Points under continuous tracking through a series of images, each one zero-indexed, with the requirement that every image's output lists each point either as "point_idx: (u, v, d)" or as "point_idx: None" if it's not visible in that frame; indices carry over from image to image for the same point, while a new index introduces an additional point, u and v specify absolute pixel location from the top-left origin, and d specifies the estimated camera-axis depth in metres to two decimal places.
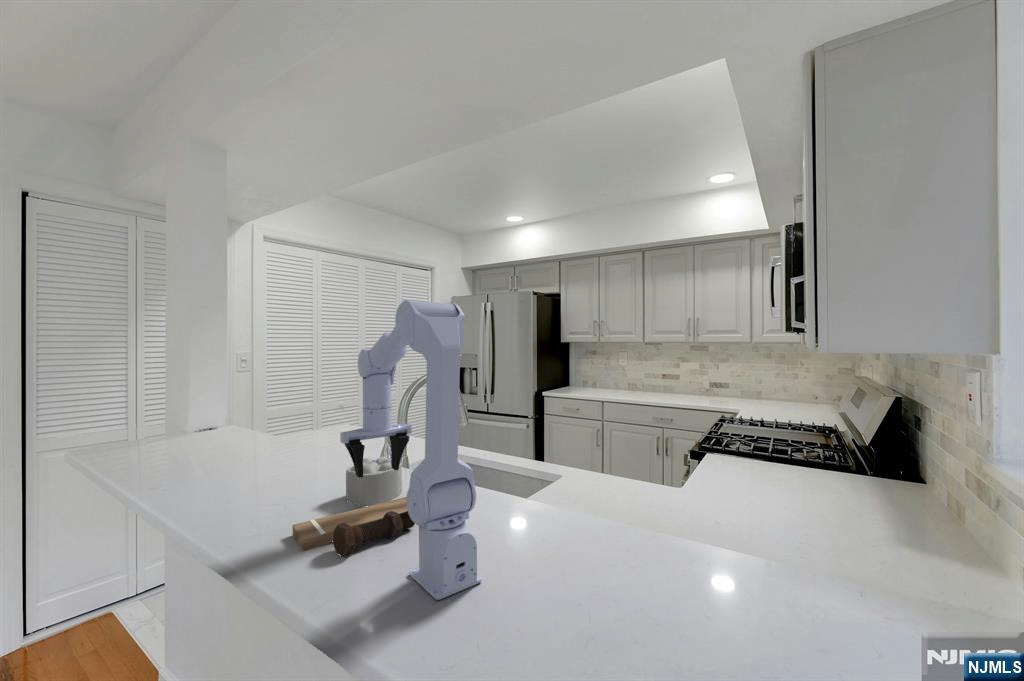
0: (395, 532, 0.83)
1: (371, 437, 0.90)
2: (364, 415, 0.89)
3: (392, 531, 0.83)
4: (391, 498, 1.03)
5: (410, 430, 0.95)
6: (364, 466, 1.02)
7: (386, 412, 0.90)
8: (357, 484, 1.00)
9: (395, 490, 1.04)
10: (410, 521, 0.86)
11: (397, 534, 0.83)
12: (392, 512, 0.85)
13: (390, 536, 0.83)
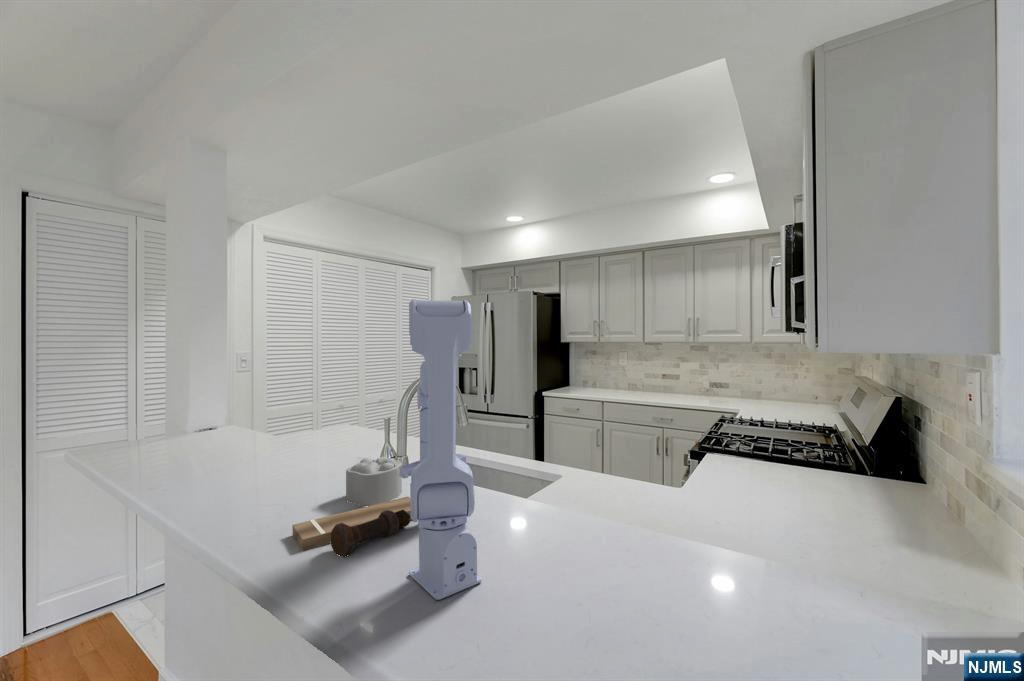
0: (391, 531, 0.83)
1: None
2: (422, 449, 0.89)
3: (389, 530, 0.83)
4: (391, 498, 1.03)
5: (465, 462, 0.95)
6: (364, 466, 1.02)
7: None
8: (357, 484, 1.00)
9: (395, 490, 1.04)
10: (406, 519, 0.87)
11: (393, 533, 0.84)
12: (388, 511, 0.86)
13: (387, 535, 0.84)
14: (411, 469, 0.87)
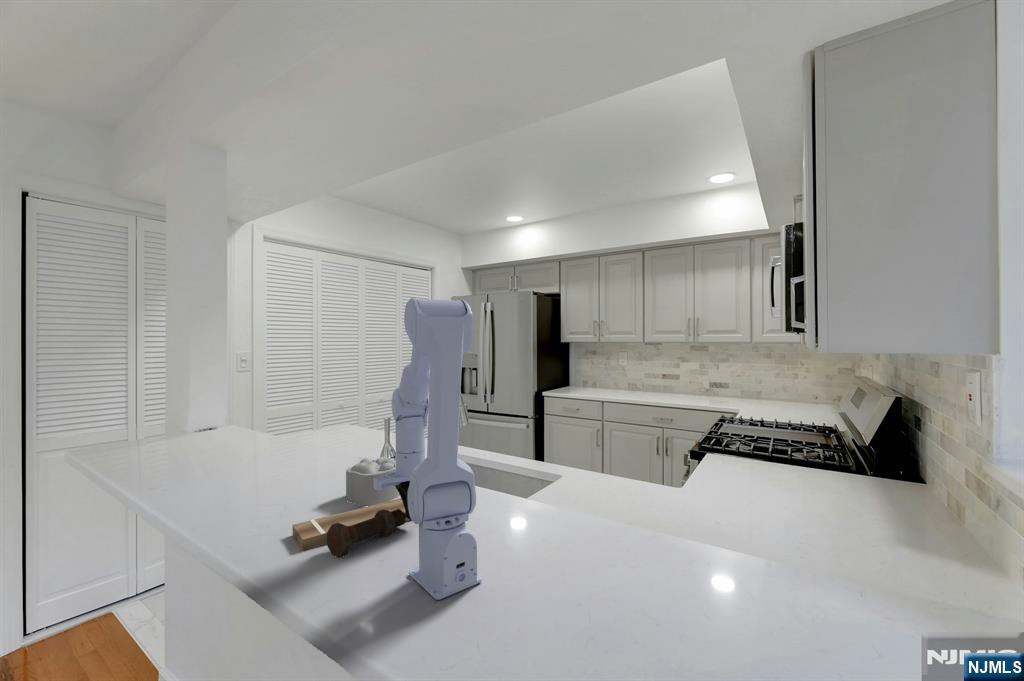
0: (388, 530, 0.83)
1: (404, 482, 0.87)
2: (397, 459, 0.86)
3: (385, 529, 0.83)
4: (391, 498, 1.03)
5: None
6: (364, 466, 1.02)
7: (420, 456, 0.86)
8: (357, 484, 1.00)
9: (395, 490, 1.04)
10: (401, 519, 0.87)
11: (390, 532, 0.84)
12: (384, 510, 0.86)
13: (383, 534, 0.84)
14: (385, 481, 0.83)
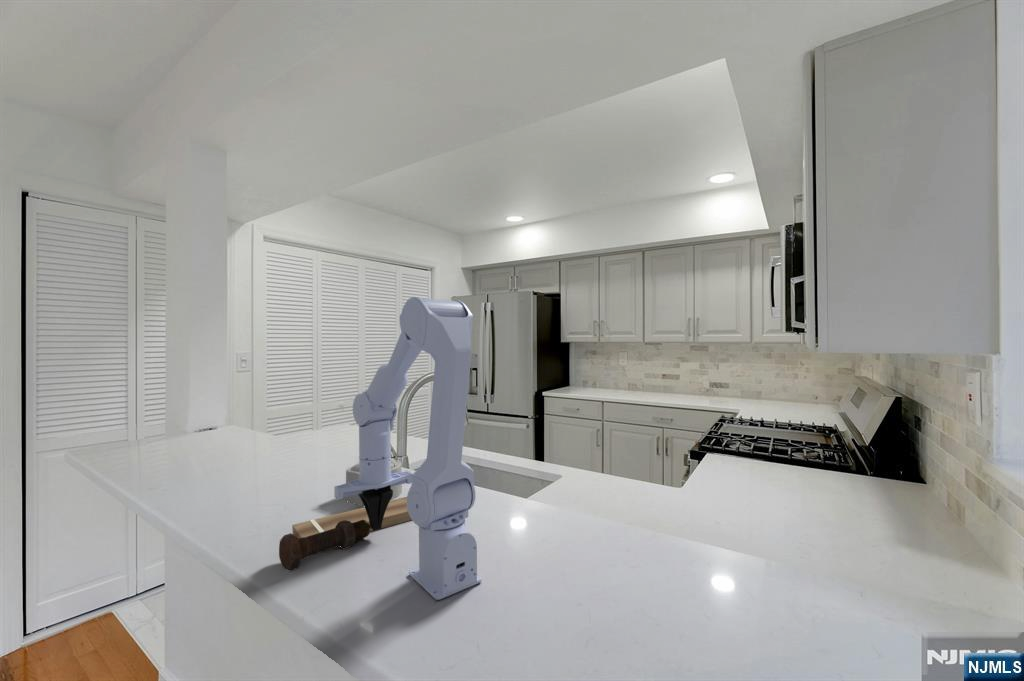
0: (347, 542, 0.79)
1: (368, 490, 0.82)
2: (361, 466, 0.81)
3: (344, 541, 0.79)
4: (391, 498, 1.03)
5: (411, 479, 0.87)
6: None
7: (385, 463, 0.82)
8: None
9: (395, 490, 1.04)
10: (364, 530, 0.82)
11: (349, 544, 0.79)
12: (345, 521, 0.81)
13: (342, 547, 0.79)
14: (347, 489, 0.79)
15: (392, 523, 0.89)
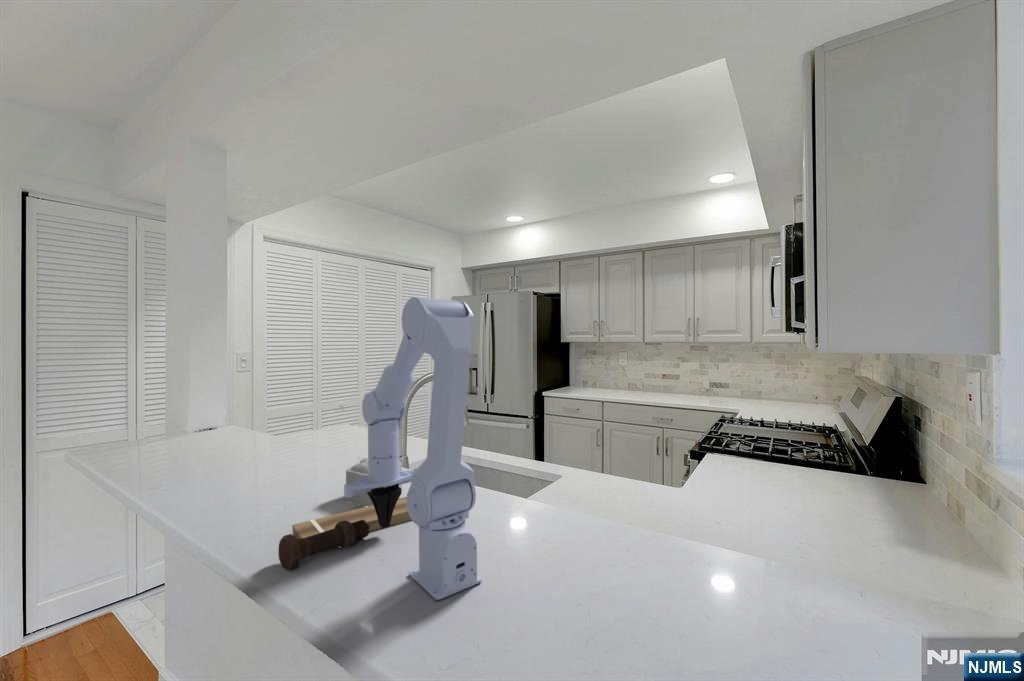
0: (346, 543, 0.79)
1: (377, 488, 0.83)
2: (370, 465, 0.82)
3: (343, 542, 0.79)
4: None
5: None
6: (364, 466, 1.02)
7: (393, 461, 0.83)
8: None
9: None
10: (364, 530, 0.82)
11: (349, 545, 0.79)
12: (345, 521, 0.81)
13: (341, 547, 0.79)
14: (356, 487, 0.80)
15: (392, 523, 0.89)
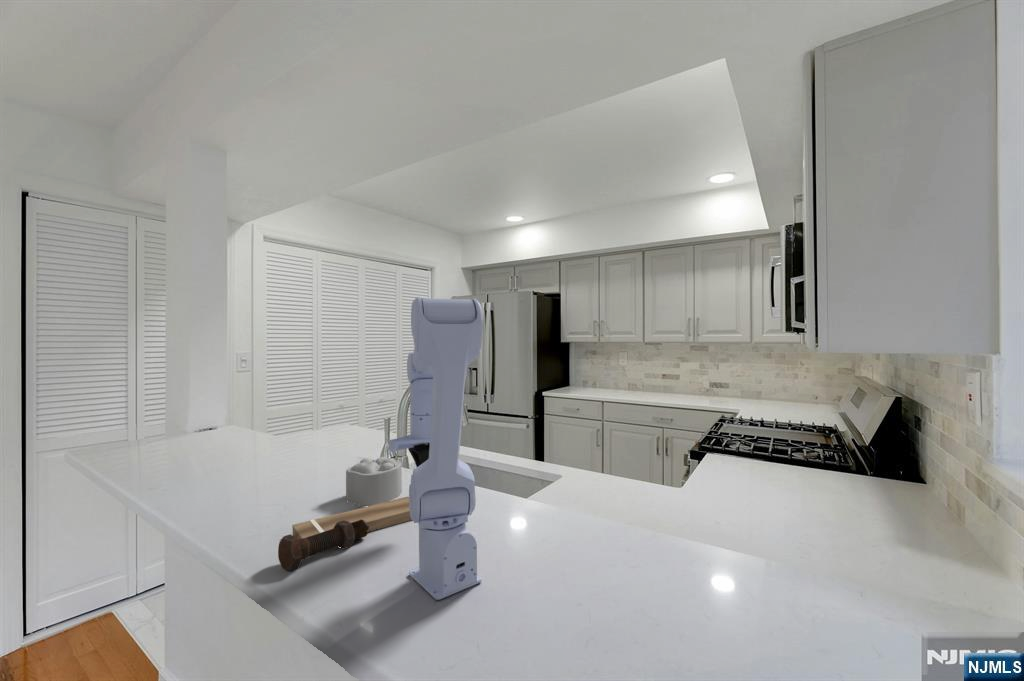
0: (346, 543, 0.79)
1: (419, 445, 0.86)
2: (412, 422, 0.85)
3: (343, 541, 0.79)
4: (391, 498, 1.03)
5: None
6: (364, 466, 1.02)
7: None
8: (357, 484, 1.00)
9: (395, 490, 1.04)
10: (363, 530, 0.82)
11: (349, 544, 0.79)
12: (344, 521, 0.81)
13: (341, 547, 0.79)
14: (401, 442, 0.83)
15: (392, 523, 0.89)
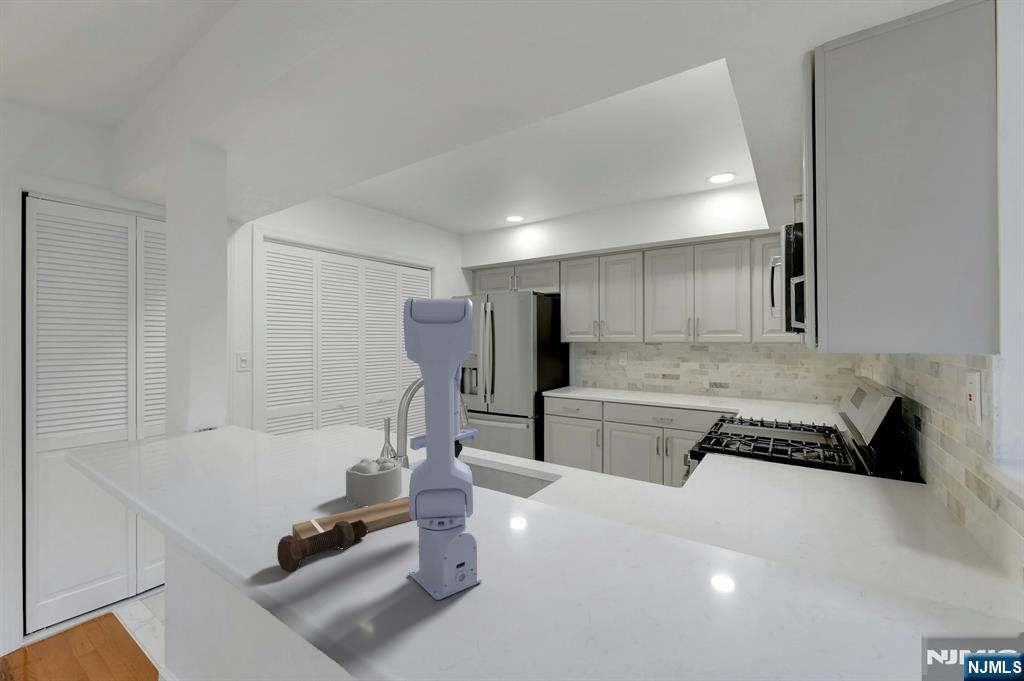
0: (345, 543, 0.78)
1: None
2: None
3: (342, 542, 0.78)
4: (391, 498, 1.03)
5: (477, 436, 0.92)
6: (364, 466, 1.02)
7: (456, 417, 0.87)
8: (357, 484, 1.00)
9: (395, 490, 1.04)
10: (362, 530, 0.82)
11: (348, 545, 0.79)
12: (343, 521, 0.81)
13: (340, 547, 0.79)
14: (423, 441, 0.84)
15: (392, 523, 0.89)
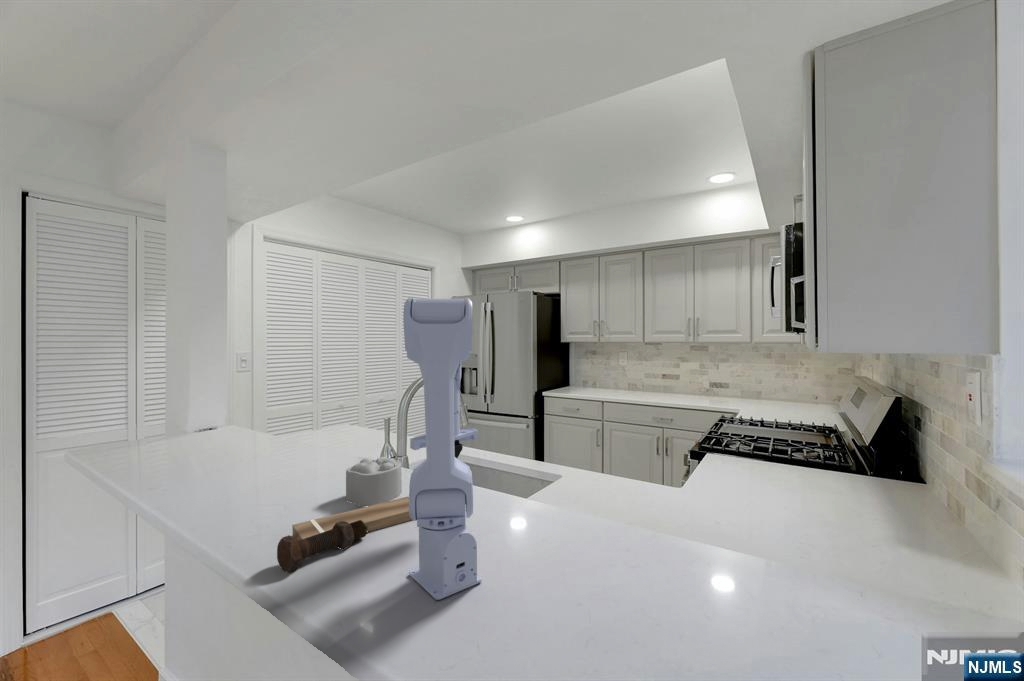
0: (345, 543, 0.78)
1: None
2: None
3: (342, 542, 0.78)
4: (391, 498, 1.03)
5: (477, 436, 0.92)
6: (364, 466, 1.02)
7: (456, 417, 0.87)
8: (357, 484, 1.00)
9: (395, 490, 1.04)
10: (362, 531, 0.82)
11: (348, 545, 0.79)
12: (343, 521, 0.81)
13: (340, 547, 0.79)
14: (423, 441, 0.84)
15: (392, 523, 0.89)
